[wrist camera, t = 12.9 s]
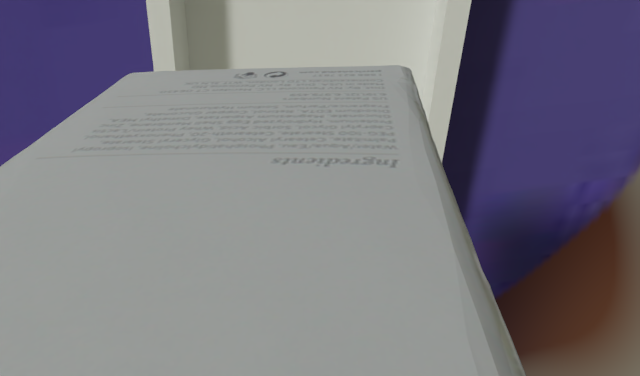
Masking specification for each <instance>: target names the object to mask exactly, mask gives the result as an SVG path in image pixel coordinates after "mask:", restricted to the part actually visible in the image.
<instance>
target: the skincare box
mask: <svg viewBox="0 0 640 376" xmlns="http://www.w3.org/2000/svg"><path fill="white" fill-rule="evenodd" d="M0 376H526V374H525V371H524V369H523V366H522V364H521V361H520V359H519V356H518V354H517V351H516V349H515V346H514V344H513V341H512V339H511V336H510V334H509V331H508V329H507V327H506V324H505V322H504V320H503V318H502V315H501V312H500V310H499V308H498V306H497V303H496V301H495V298H494V295H493V293H492V290H491V287H490V284H489V282H488V281H487V279H486V277H485V275H484V273H483V271H482V268H481V265H480V263H479V260H478V257H477V254H476V252H475V249H474V246H473V243H472V240H471V238H470V235H469V233H468V230H467V228H466V225H465V223H464V220H463V218H462V215H461V213H460V210H459V208H458V205H457V202H456V199H455V197H454V194H453V191H452V189H451V186H450V184H449V182H448V179H447V176H446V174H445V171H444V168H443V165H442V162H441V160H440V157H439V154H438V151H437V148H436V145H435V142H434V140H433V138H432V134H431V131H430V127H429V124H428V121H427V118H426V114H425V110H424V108H423V105H422V102H421V99H420V97H419V92H418V89H417V86H416V83H415V81H414V77H413V75H412V71H411V70H410V69H409V68H407V67H404V66H400V65H389V66H349V67H299V68H254V69H218V70H181V71H156V72H141V73H131V74H128V75H127V76H125V77H123V78H122V79H121V80H119V81H118V82H117V83H115V84H114V85H113V86H111V87H110V88H109V89H107V90H106V91H105V92H103V93H102V94H100V95H99V96H98V97H96V98H95V99H93V100H92V101H91V102H89V103H88V104H86V105H85V106H84V107H82V108H81V109H79V110H78V111H77V112H75V113H74V114H72V115H71V116H70V117H68V118H67V119H66V120H64V121H63V122H61V123H60V124H59V125H57V126H56V127H55V128H53V129H52V130H50V131H49V132H48V133H46V134H45V135H44V136H42V137H41V138H40V139H38V140H37V141H36V142H34V143H33V144H32V145H30V146H29V147H27V148H26V149H24V150H23V151H21V152H20V153H19V154H17V155H16V156H14V157H13V158H11V159H10V160H9V161H7V162H6V163H5V164H3V165H2V166H1V167H0Z"/></svg>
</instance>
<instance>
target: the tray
mask: <svg viewBox="0 0 640 376" xmlns="http://www.w3.org/2000/svg"><path fill="white" fill-rule="evenodd" d="M146 4H147V13H148V22H149V31H150V40H151V49H152V58H153V67H154V72H156V71H181V70H218V69H254V68H299V67H349V66H389V65H400V66H404V67H407V68H409V69H410V70H411V71H412V75H413V77H414V81H415V83H416V86H417V89H418V92H419V97H420V99H421V102H422V105H423V108H424V110H425V114H426V118H427V121H428V124H429V127H430V131H431V134H432V138H433V140H434V142H435V145H436V148H437V151H438V154H439V157H440V160H441V162H442V159H443V154H444V148H445V143H446V137H447V132H448V126H449V121H450V115H451V110H452V104H453V99H454V93H455V88H456V82H457V77H458V71H459V66H460V61H461V55H462V50H463V44H464V39H465V33H466V28H467V22H468V17H469V11H470V6H471V0H146Z"/></svg>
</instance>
